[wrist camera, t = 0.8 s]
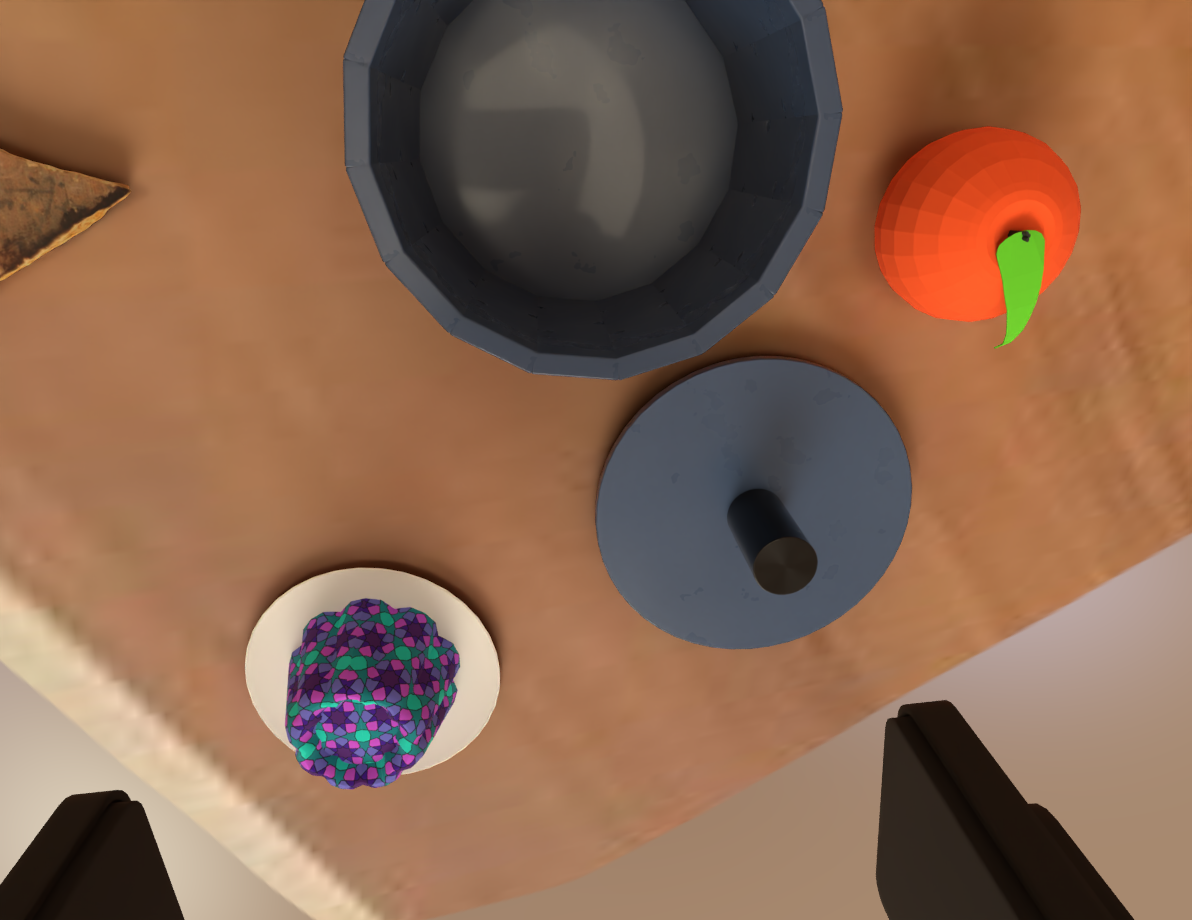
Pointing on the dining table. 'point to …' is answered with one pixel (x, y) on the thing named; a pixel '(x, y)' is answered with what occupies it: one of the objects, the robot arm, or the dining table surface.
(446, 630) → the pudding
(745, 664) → the dining table surface
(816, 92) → the tin
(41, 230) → the shard
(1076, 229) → the clementine
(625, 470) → the lid
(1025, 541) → the dining table surface
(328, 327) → the dining table surface
